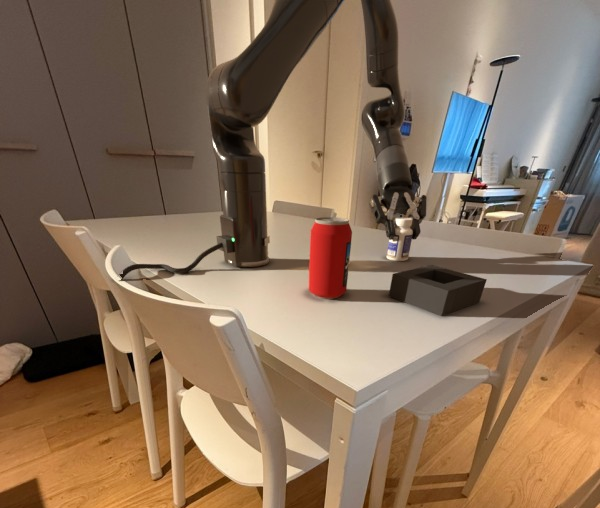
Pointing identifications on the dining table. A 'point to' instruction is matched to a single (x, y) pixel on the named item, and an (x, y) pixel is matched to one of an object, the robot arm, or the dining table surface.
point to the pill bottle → (400, 240)
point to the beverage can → (329, 257)
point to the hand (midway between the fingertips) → (404, 237)
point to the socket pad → (436, 289)
